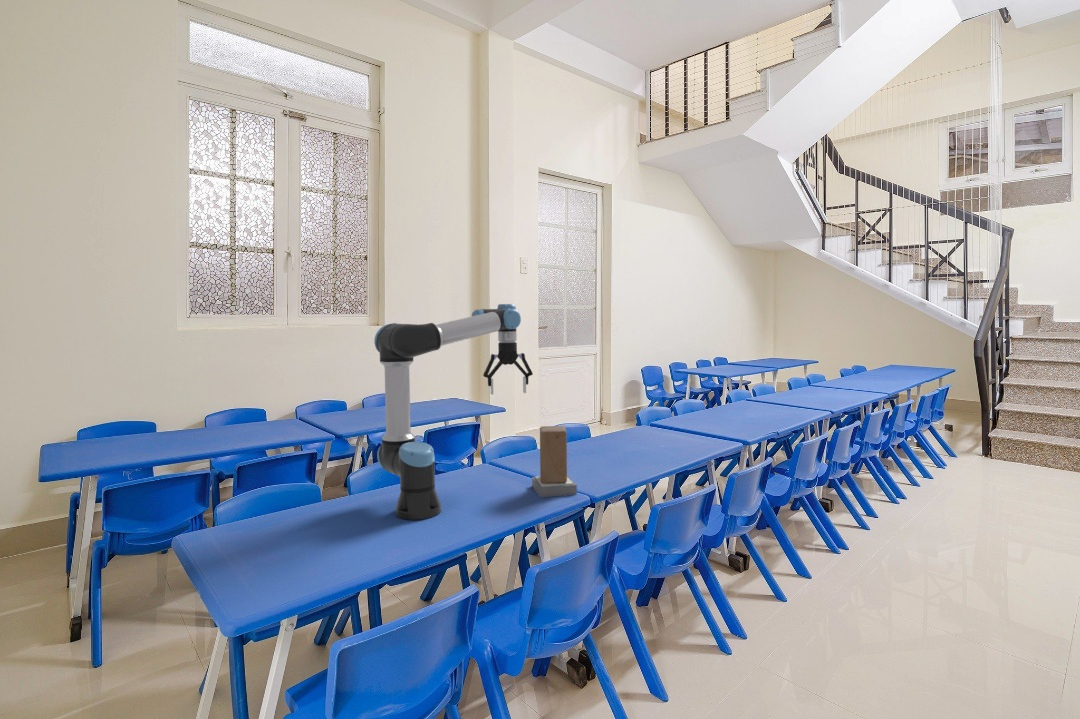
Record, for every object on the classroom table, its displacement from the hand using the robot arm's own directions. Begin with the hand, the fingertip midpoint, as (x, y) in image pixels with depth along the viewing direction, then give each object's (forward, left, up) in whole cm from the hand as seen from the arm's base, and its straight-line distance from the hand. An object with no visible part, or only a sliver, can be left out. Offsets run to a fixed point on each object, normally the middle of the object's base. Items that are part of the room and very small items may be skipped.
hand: (508, 393), depth 236 cm
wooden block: (+13, -23, -31) cm, 41 cm away
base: (+13, -23, -35) cm, 44 cm away
